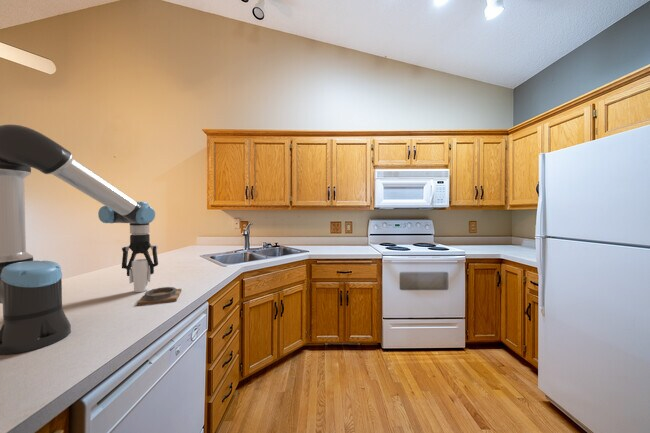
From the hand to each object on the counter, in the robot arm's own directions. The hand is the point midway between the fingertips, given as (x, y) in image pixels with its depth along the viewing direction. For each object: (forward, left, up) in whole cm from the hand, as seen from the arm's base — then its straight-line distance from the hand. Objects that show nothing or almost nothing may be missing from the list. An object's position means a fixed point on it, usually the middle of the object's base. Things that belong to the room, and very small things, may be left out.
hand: (140, 281), depth 121 cm
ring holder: (-14, -11, -4) cm, 18 cm away
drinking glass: (0, 0, -5) cm, 5 cm away
